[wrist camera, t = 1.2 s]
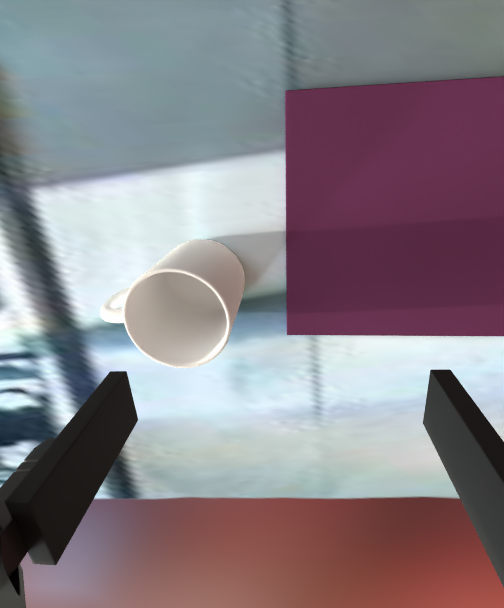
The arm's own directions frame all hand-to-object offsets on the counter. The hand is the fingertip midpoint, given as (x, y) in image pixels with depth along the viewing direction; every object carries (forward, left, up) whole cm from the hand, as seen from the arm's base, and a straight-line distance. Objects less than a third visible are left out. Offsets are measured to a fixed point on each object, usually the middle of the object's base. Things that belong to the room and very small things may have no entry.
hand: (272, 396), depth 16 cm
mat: (-3, +11, -21) cm, 24 cm away
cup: (+2, -10, -21) cm, 23 cm away
